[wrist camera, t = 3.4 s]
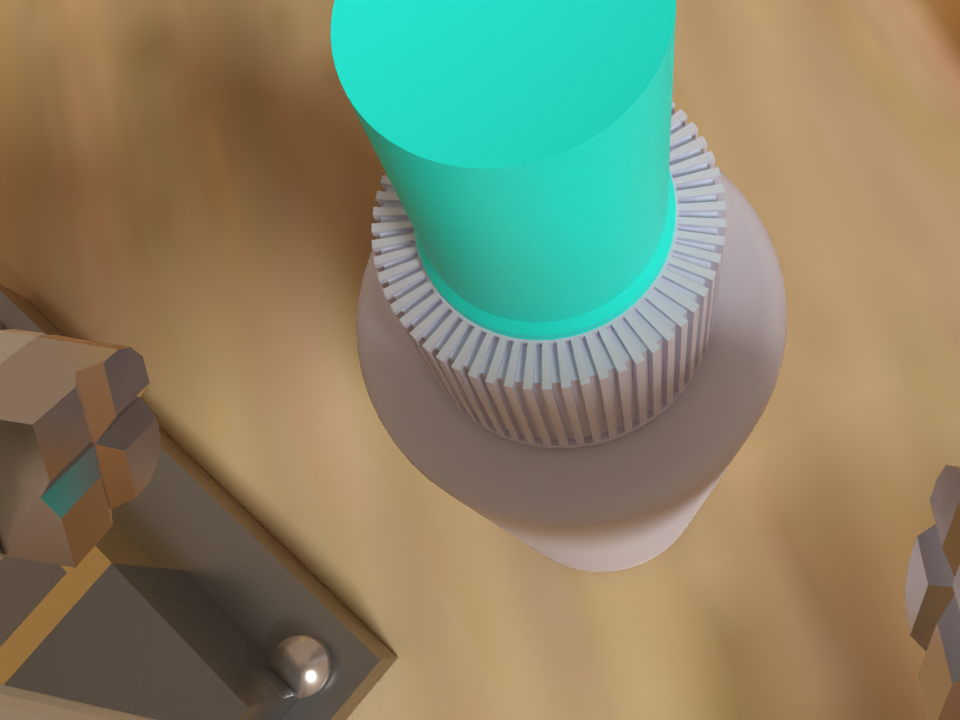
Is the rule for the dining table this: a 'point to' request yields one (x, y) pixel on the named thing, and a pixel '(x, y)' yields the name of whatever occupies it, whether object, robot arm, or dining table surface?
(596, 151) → the spray bottle
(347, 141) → the dining table surface
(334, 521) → the dining table surface
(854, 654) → the dining table surface
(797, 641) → the dining table surface
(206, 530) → the grey plate with frame
